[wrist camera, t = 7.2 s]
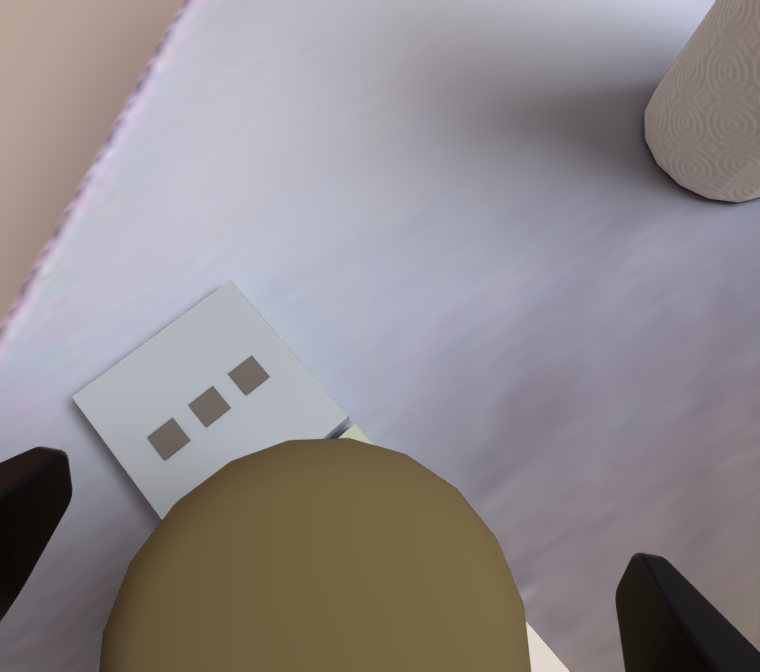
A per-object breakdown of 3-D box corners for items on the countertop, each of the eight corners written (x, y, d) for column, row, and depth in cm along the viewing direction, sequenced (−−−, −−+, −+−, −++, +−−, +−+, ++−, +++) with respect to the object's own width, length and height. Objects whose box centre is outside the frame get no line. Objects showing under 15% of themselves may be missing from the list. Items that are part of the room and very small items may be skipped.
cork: (192, 637, 16) (-151, 877, 5) (295, 433, 17) (198, 299, 7) (396, 743, 15) (483, 1262, 4) (480, 521, 17) (686, 522, 6)
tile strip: (491, 950, 15) (501, 984, 13) (86, 403, 18) (69, 396, 17) (644, 763, 16) (663, 780, 15) (236, 291, 20) (229, 278, 19)
